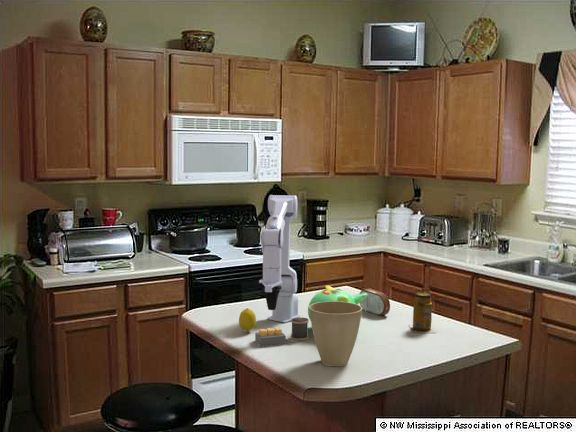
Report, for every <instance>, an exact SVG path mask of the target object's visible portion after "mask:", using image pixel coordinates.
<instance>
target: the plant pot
mask: <svg viewBox="0 0 576 432" xmlns="http://www.w3.org/2000/svg"><path fill="white" fill-rule="evenodd" d="M308 306H309V305H308ZM309 310H310V318H311V321H310V323H311V329H312V333H313V337H314V343H315V345H316V349H317V351H318V355H319V359H320V360H321V363H322V364H323V365H326V366H329V367H343V366H346V365H348V363H349V360H350V358H351V356H352V353H353V350H354V348H355V344H356V341H357V337H358V334H359V328H360V325H361V319H362V313H363V309H362V307H361V305H360V304H358V305H357V304H354V303H349V302H340V301H326V302H318V303H314V304H312V305H310V306H309Z"/></svg>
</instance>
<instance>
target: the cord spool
mask: <svg viewBox="0 0 576 432" xmlns="http://www.w3.org/2000/svg"><path fill="white" fill-rule="evenodd" d="M290 322H291V334H290V339H291V340H292V341H297V342H298V341H299V342H300V341H303V342H304V341H307V340H308V339H309V335H308V325H309V322H310V319H309V318H307V317H303V316H300V317H296V318H292V319H291V321H290Z"/></svg>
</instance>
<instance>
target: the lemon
mask: <svg viewBox="0 0 576 432" xmlns="http://www.w3.org/2000/svg"><path fill="white" fill-rule="evenodd" d="M238 323H239V326H240V328H241V329H242V330H244V331H245V332H246V333H249V332H250V331H252V330H253V329H254V328H255V327H256V323H257V317H256V313H255V312H254V311H253V310H252V309H249V308H248V307H247V308H246V309H244V310H241V312H240V314H239V317H238Z"/></svg>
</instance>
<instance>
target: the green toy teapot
mask: <svg viewBox="0 0 576 432" xmlns="http://www.w3.org/2000/svg"><path fill="white" fill-rule="evenodd" d="M324 287H325V289H323V290H320V291H319V292H317V293H316V294H314V295H313V297H312V298H311V300H310V301H309V303H308V308H307V317H308V320H309V322H311V318H310V310H309V306H310V305H312V304H314V303H318V302H326V301H340V302H349V303H354V304H357V305H360V302H361V301H362V300H364V299H365V298H366V297H367V294H366V293H363V294H360V293H359V294H353V295H352V294H351V293H350V292H348V291H345V290H343V289H341V288H335V287H332V286H330V285H325V286H324Z"/></svg>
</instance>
